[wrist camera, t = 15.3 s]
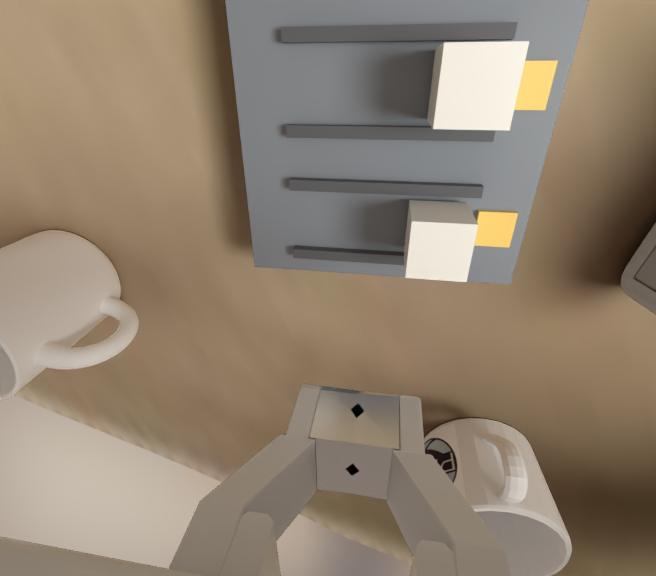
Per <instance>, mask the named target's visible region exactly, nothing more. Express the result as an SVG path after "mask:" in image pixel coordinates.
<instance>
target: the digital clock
mask: <svg viewBox="0 0 656 576" xmlns="http://www.w3.org/2000/svg"><path fill="white" fill-rule="evenodd" d="M621 288H622V290H623V291H624V292H625V293H626V294H627V295H628V296H629V297H630V298H632V299H633V300H635V301H636V302H637V303H639V304H641V305H642V306H644V307H645V308H647V309H648V310H650V311H651V312H653V313H654V314H656V223H655V224H654V226H653V227H652V229H651V230H650V232H649V233H648V234H647V236H646V237H645V239H644V240H643V242H642V243H641V245H640V246H639V248H638V249H637V251H636V252H635V254H634V255H633V257H632V259H631V260H630V262H629V263H628V265H627V266H626V268H625V270H624V272H623V274H622V276H621Z"/></svg>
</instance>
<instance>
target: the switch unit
mask: <svg viewBox="0 0 656 576" xmlns="http://www.w3.org/2000/svg"><path fill="white" fill-rule="evenodd" d="M588 2H589V0H225V3H226V12H227V21H228V30H229V39H230V48H231V57H232V66H233V75H234V84H235V93H236V102H237V111H238V120H239V129H240V138H241V147H242V156H243V165H244V174H245V183H246V192H247V201H248V210H249V219H250V229H251V238H252V247H253V256H254V265H255V267H268V268H282V269H296V270H310V271H324V272H338V273H352V274H366V275H380V276H395V277H405V261H404V245H405V236H406V227H407V218H408V208H409V200H423V201H446V202H466V203H467V205H468V207H469V208H470V210H471V212H472V214H473V216H474V217H475V219H476V221H477V223H478V230H477V235H476V239H475V244H474V249H473V254H472V258H471V263H470V268H469V273H468V278H467V282H479V283H493V284H507V285H510V284H511V280H512V277H513V273H514V270H515V266H516V262H517V259H518V255H519V251H520V248H521V244H522V241H523V237H524V233H525V230H526V226H527V223H528V219H529V215H530V212H531V208H532V205H533V201H534V197H535V194H536V190H537V186H538V183H539V179H540V176H541V172H542V168H543V165H544V161H545V158H546V154H547V150H548V147H549V143H550V140H551V136H552V132H553V129H554V125H555V121H556V118H557V114H558V111H559V107H560V103H561V100H562V96H563V93H564V89H565V85H566V82H567V78H568V75H569V71H570V67H571V64H572V60H573V56H574V53H575V49H576V46H577V42H578V38H579V35H580V31H581V28H582V24H583V20H584V17H585V13H586V9H587V6H588ZM511 41H529V46H528V50H527V55H526V59H525V64H524V68H523V73H522V77H521V82H520V86H519V91H518V95H517V99H516V104H515V108H514V113H513V117H512V122H511V126H510V131H508V130H450V129H433V128H432V127H431V126H430V124H429V123H428V121H427V116H428V108H429V99H430V91H431V83H432V74H433V66H434V57H435V49H436V48H437V47H438V46H440V45H441V44H443V43H444V42H511Z"/></svg>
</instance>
